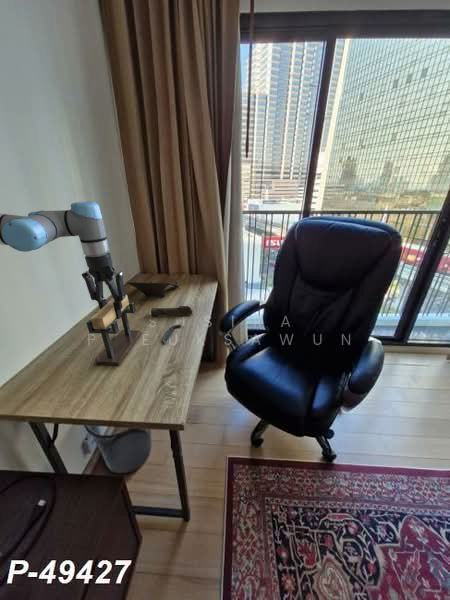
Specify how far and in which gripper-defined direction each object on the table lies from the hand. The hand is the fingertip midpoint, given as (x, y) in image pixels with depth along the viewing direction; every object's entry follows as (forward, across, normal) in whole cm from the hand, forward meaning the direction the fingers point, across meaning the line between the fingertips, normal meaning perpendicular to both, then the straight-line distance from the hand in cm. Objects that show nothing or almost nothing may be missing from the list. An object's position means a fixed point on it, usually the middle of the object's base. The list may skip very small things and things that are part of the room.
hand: (113, 316), depth 90 cm
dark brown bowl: (+14, +2, -50) cm, 52 cm away
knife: (+14, -17, -10) cm, 24 cm away
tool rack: (+14, 0, 0) cm, 14 cm away
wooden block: (0, 0, 0) cm, 0 cm away
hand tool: (+14, -13, -26) cm, 32 cm away
